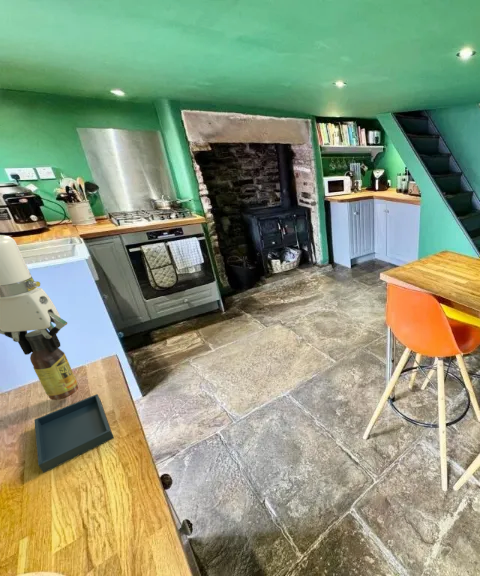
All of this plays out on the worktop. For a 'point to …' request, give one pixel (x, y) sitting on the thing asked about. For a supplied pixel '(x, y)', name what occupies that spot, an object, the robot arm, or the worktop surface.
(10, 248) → the robot arm
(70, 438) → the tray
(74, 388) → the sauce bottle
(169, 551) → the worktop surface
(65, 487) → the worktop surface
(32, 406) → the worktop surface
